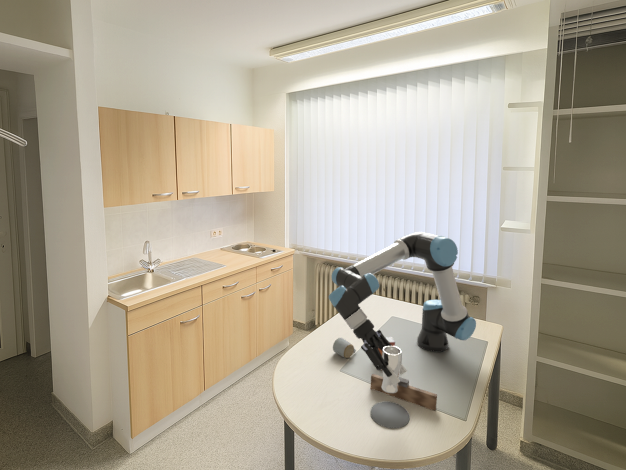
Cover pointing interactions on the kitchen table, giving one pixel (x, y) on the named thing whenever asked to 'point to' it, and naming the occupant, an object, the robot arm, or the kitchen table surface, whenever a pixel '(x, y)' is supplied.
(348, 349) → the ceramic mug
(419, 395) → the board
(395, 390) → the beer glass
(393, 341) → the small box
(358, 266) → the robot arm
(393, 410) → the round pad
